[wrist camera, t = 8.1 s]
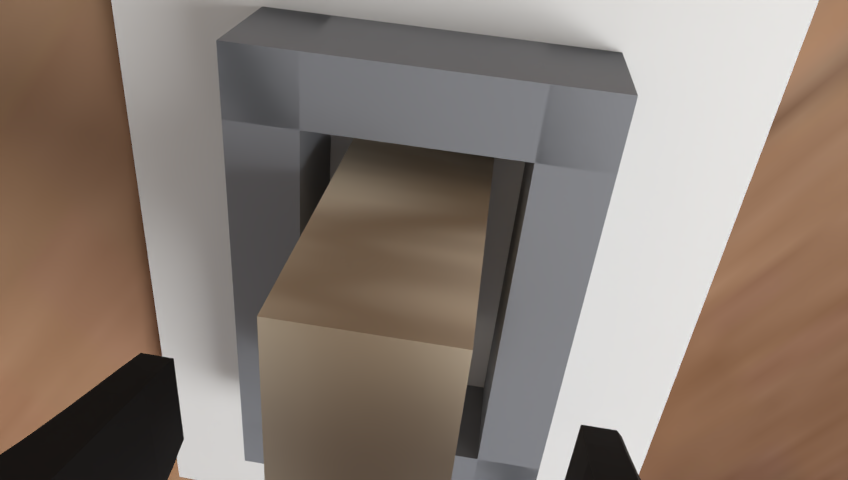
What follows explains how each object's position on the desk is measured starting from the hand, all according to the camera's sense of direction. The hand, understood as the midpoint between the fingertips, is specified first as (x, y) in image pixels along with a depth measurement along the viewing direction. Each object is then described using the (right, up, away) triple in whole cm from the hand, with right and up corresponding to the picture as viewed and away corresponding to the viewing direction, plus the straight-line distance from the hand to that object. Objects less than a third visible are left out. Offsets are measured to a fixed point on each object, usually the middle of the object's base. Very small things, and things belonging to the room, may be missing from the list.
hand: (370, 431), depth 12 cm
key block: (+1, +4, +4) cm, 6 cm away
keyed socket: (+1, +3, +5) cm, 6 cm away
